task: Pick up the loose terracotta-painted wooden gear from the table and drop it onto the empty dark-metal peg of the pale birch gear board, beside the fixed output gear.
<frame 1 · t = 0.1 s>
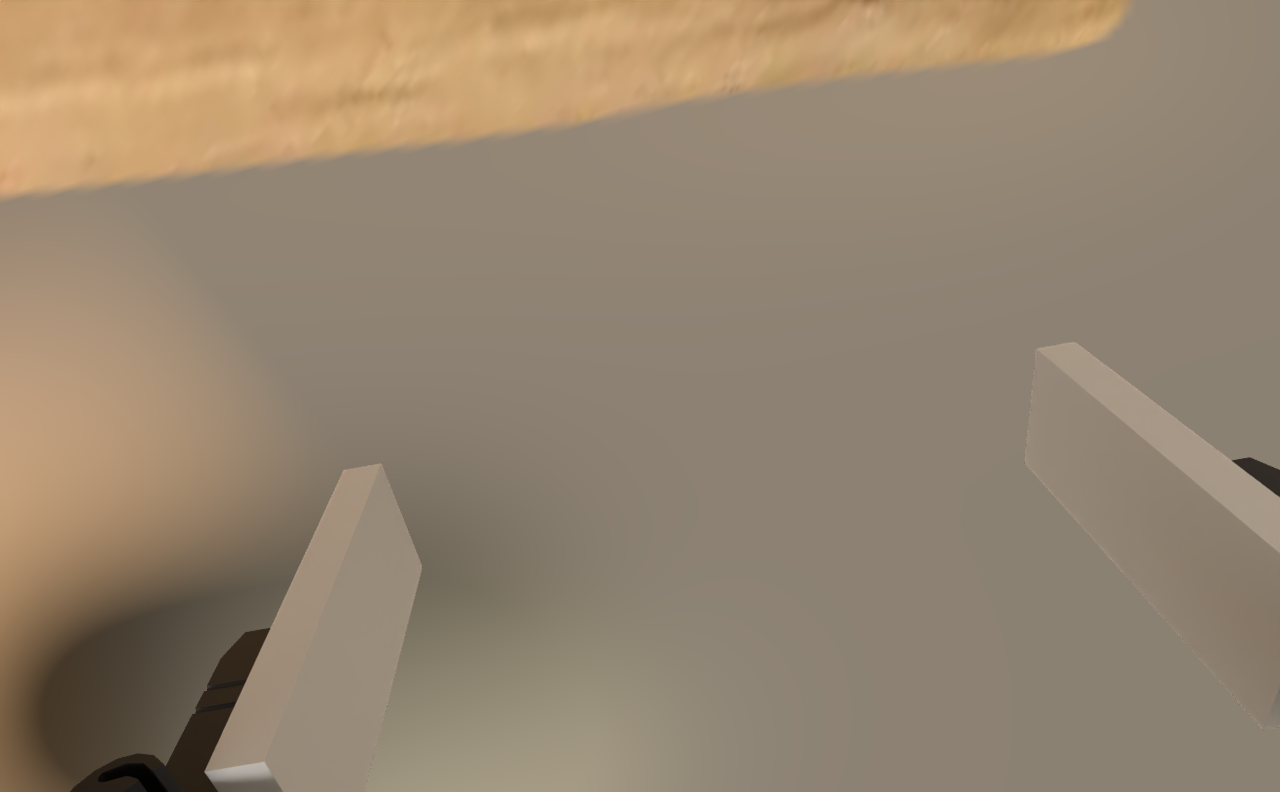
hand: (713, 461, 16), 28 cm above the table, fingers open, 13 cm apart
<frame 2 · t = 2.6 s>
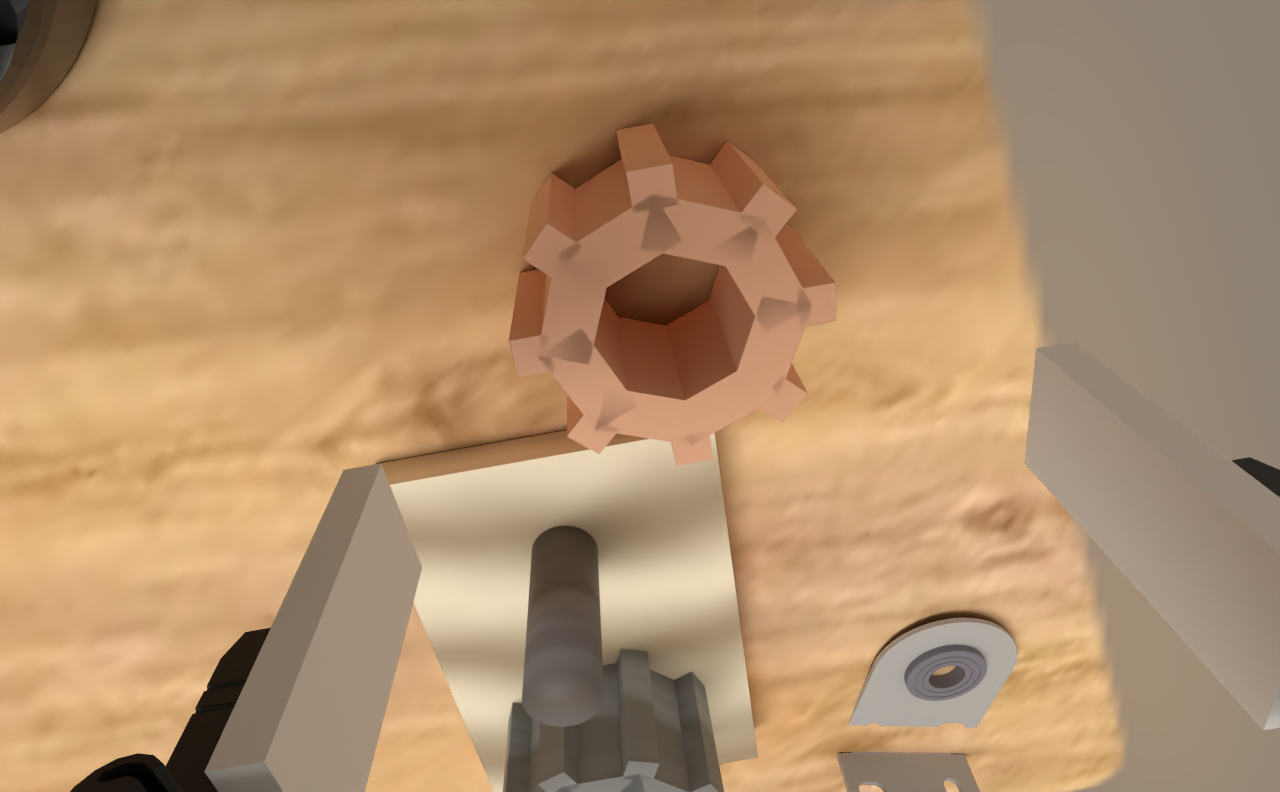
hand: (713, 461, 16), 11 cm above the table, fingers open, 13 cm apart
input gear: (656, 264, 25), on the table
gear board: (589, 614, 32), on the table
bracket: (914, 688, 37), on the table
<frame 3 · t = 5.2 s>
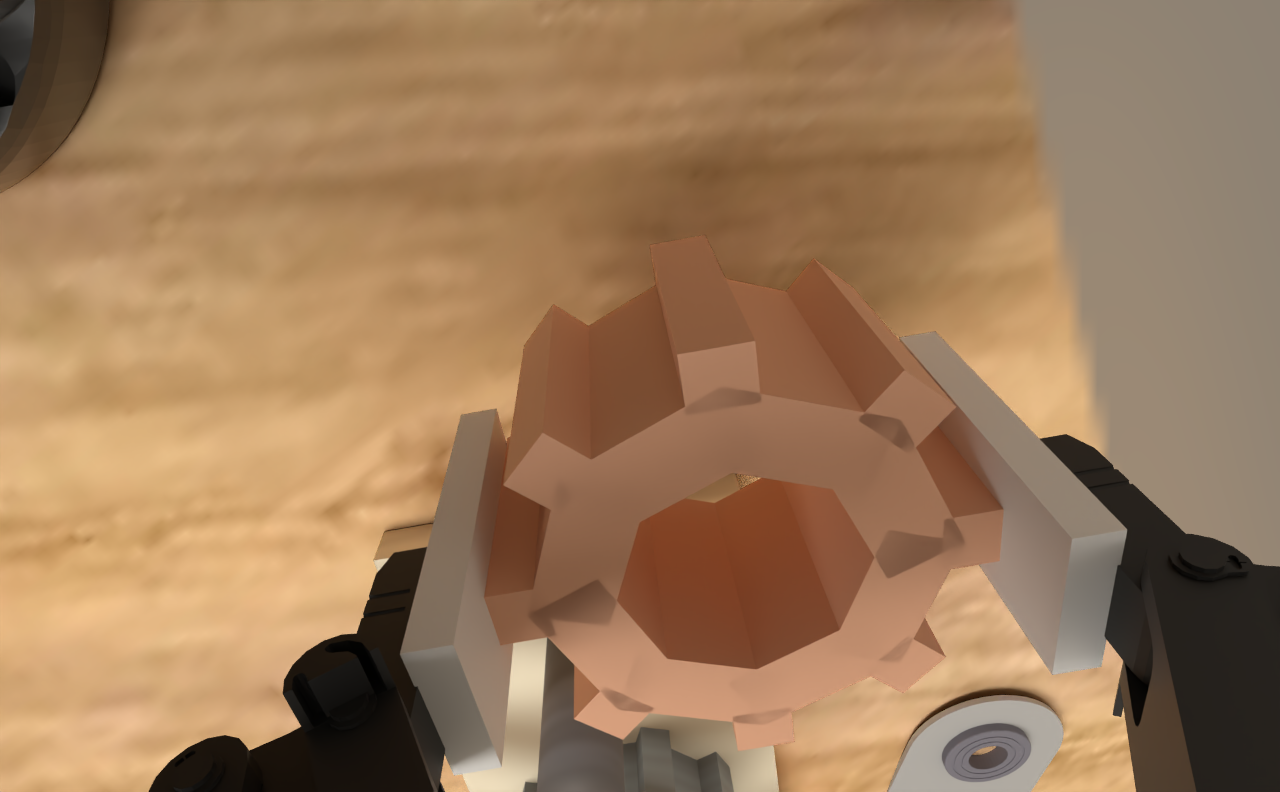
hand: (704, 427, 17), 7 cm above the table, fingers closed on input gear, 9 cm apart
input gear: (703, 425, 17), point 7 cm above the table, touching gripper
gear board: (607, 688, 30), on the table
bracket: (952, 767, 35), on the table
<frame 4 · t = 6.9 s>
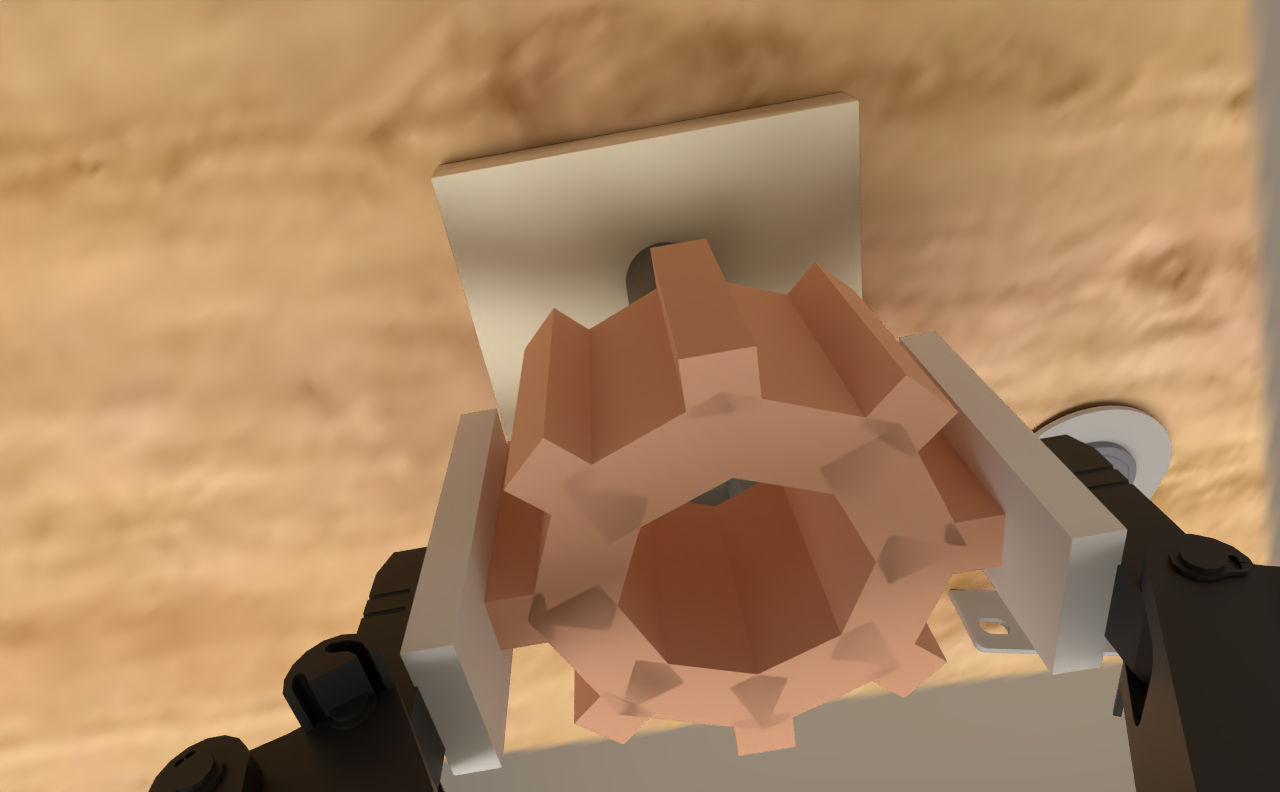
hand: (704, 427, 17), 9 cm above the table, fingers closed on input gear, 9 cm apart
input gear: (704, 428, 17), point 9 cm above the table, touching gripper
gear board: (680, 391, 27), on the table
bracket: (1041, 510, 32), on the table
when the fingers open (2 cm above the table, at t = 8.7 s): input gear stays where it is, resting on gear board.
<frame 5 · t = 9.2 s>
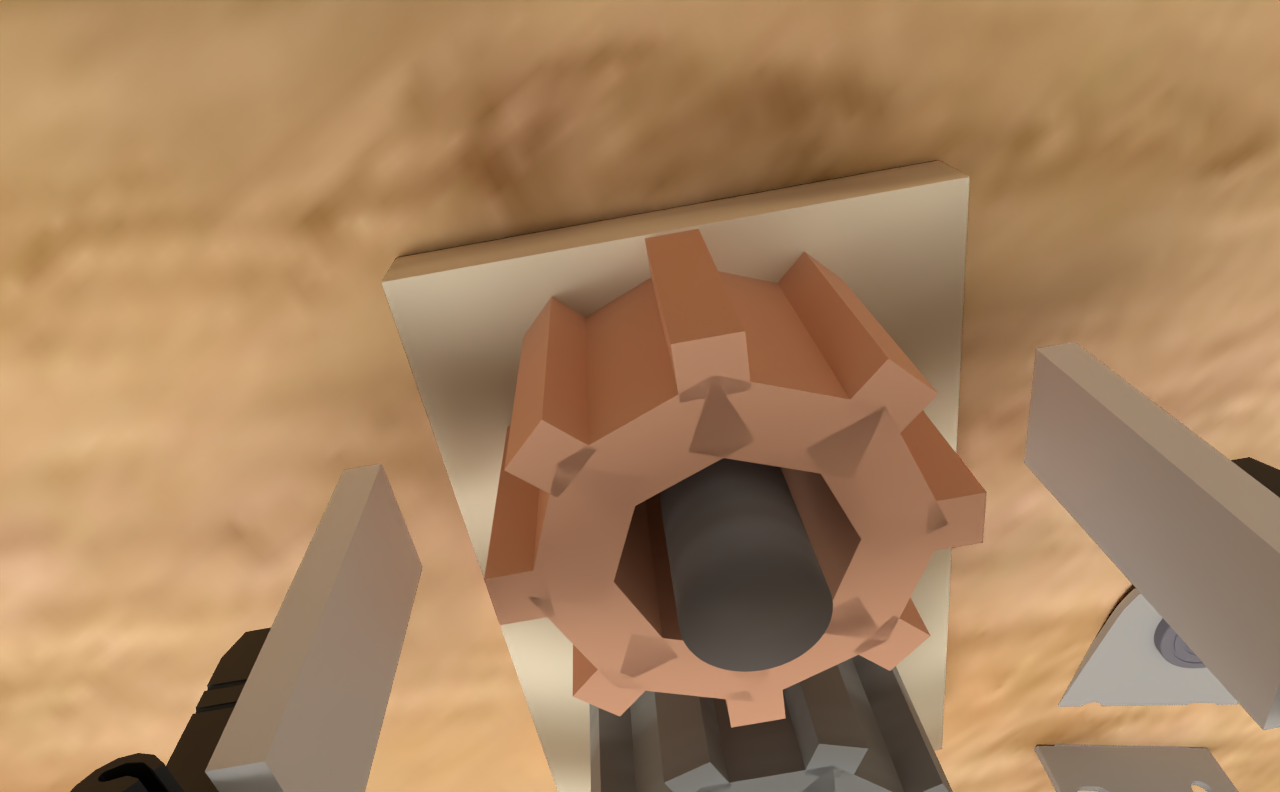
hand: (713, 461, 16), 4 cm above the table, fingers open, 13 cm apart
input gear: (697, 414, 18), point 1 cm above the table, touching gear board
gear board: (712, 529, 21), on the table
bracket: (1152, 653, 26), on the table
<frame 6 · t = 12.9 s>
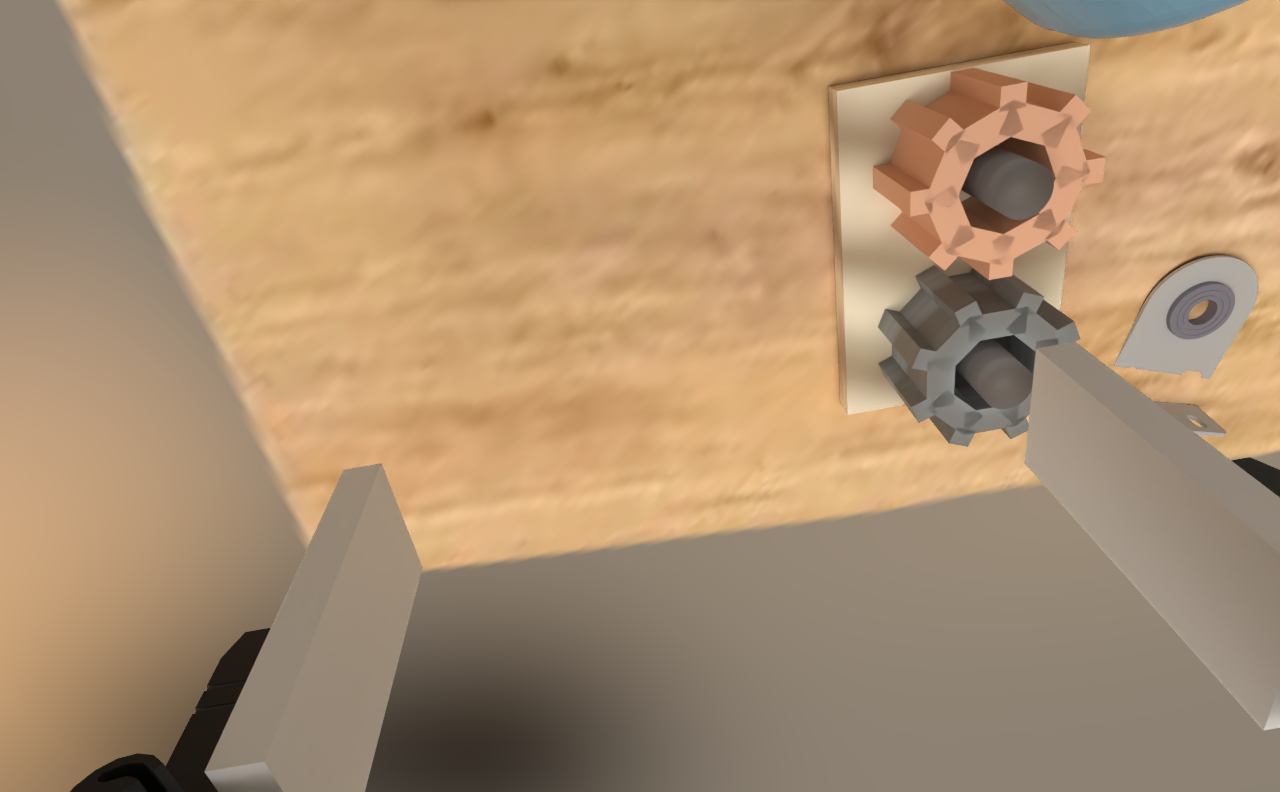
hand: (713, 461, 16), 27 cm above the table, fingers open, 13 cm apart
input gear: (958, 161, 39), point 1 cm above the table, touching gear board
gear board: (944, 241, 42), on the table
bracket: (1165, 339, 47), on the table
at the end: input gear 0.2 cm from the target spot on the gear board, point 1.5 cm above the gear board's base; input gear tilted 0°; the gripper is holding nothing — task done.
